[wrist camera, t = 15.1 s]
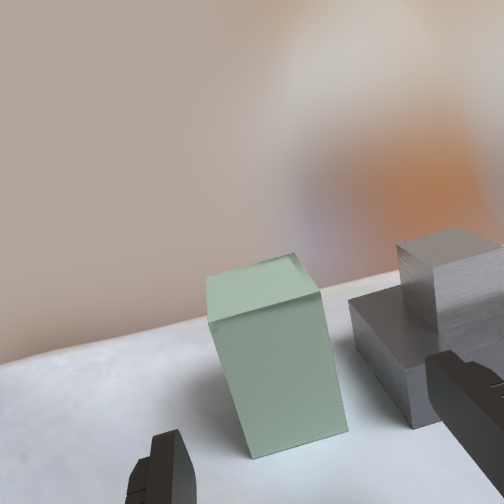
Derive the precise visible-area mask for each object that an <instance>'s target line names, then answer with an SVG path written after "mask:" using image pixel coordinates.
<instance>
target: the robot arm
mask: <svg viewBox="0 0 504 504" xmlns="http://www.w3.org/2000/svg"><path fill="white" fill-rule="evenodd" d="M425 368H426V379H427V389H428V397H429V400H430V403H431V405H432V407H433V409H434V411H435V412H436V414H437V415H438V416H439V418H440V419H441V420H442V421H443V423H444V424H445V425H446V426H447V428H448V429H449V430H450V431H451V433H452V434H453V435H454V436H455V438H456V439H457V440H458V441H459V443H460V444H461V445H462V446H463V448H464V449H465V450H466V451H467V453H468V454H469V455H470V456H471V458H472V459H473V460H474V461H475V463H476V464H477V465H478V466H479V468H480V469H481V470H482V471H483V473H484V474H485V475H486V476H487V478H488V479H489V480H490V481H491V483H492V484H493V485H494V486H495V488H496V489H497V490H498V491H499V493H500V494H501V495H502V496H503V498H504V380H503V379H502V378H500V377H499V376H498V375H497V374H496V373H495V372H494V371H492V370H491V369H489V368H487V367H485V366H483V365H481V364H479V363H476V362H474V361H471V362H467V363H465V362H464V361H463V360H462V359H461V358H460V357H459V356H458V355H456V354H455V353H454V352H453V351H451V350H446V351H443V352H439V353H436V354H432V355H429V356H426V358H425ZM125 504H197V492H196V477H195V472H194V468H193V464H192V462H191V459H190V457H189V454H188V452H187V449H186V447H185V444H184V442H183V439H182V437H181V434H180V432H179V430H178V429H176V430H172V431H169V432H166V433H162V434H159V435H155V436H153V438H152V444H151V452H150V456H149V457H146V458H142V459H139V460H138V462H137V464H136V466H135V468H134V469H133V471H132V473H131V475H130V477H129V483H128V489H127V497H126V501H125Z"/></svg>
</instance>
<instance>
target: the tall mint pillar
mask: <svg viewBox="0 0 504 504" xmlns="http://www.w3.org/2000/svg"><path fill="white" fill-rule="evenodd" d="M206 294H207V317H208V325H209V328H210V331H211V334H212V337H213V340H214V343H215V346H216V350H217V353H218V356H219V359H220V362H221V365H222V368H223V371H224V374H225V377H226V380H227V383H228V386H229V389H230V392H231V395H232V398H233V401H234V404H235V408H236V411H237V414H238V417H239V420H240V423H241V426H242V429H243V432H244V435H245V438H246V441H247V444H248V447H249V450H250V453H251V456H252V459H255V458H259V457H262V456H265V455H269V454H272V453H276V452H279V451H282V450H286V449H289V448H292V447H296V446H299V445H303V444H306V443H309V442H313V441H316V440H319V439H323V438H326V437H330V436H333V435H336V434H340V433H343V432H347V431H348V426H347V421H346V416H345V411H344V406H343V401H342V396H341V391H340V387H339V382H338V377H337V372H336V367H335V362H334V357H333V352H332V347H331V342H330V338H329V333H328V328H327V323H326V318H325V313H324V308H323V303H322V298H321V293H320V290H319V289H318V287H317V286H316V284H315V283H314V282H313V280H312V279H311V277H310V276H309V274H308V273H307V271H306V270H305V269H304V267H303V265H302V264H301V262H300V261H299V259H298V258H297V256H296V255H295V254H294V253H291V254H288V255H284V256H281V257H277V258H274V259H270V260H266V261H263V262H259V263H255V264H252V265H249V266H245V267H241V268H237V269H234V270H230V271H227V272H223V273H220V274H216V275H212V276H209V277H206Z"/></svg>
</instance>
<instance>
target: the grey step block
mask: <svg viewBox="0 0 504 504" xmlns="http://www.w3.org/2000/svg"><path fill="white" fill-rule="evenodd" d="M396 247H397V255H398V263H399V272H400V280H401V285H398V286H394V287H391V288H387V289H384V290H381V291H377V292H374V293H370V294H367V295H363V296H360V297H356V298H353V299H350V300H348V304H349V310H350V315H351V321H352V326H353V332H354V338H355V343H356V348H357V349H358V351H359V352H360V354H361V355H362V357H363V358H364V359H365V361H366V362H367V364H368V365H369V367H370V368H371V370H372V371H373V372H374V374H375V375H376V377H377V378H378V380H379V381H380V382H381V384H382V385H383V387H384V388H385V390H386V391H387V393H388V394H389V395H390V397H391V398H392V400H393V401H394V403H395V404H396V405H397V407H398V408H399V410H400V411H401V413H402V414H403V416H404V417H405V418H406V420H407V421H408V423H409V424H410V426H411V427H412V428H413V429H416V428H419V427H422V426H425V425H429V424H432V423H435V422H438V421H442V420H441V419H440V418H439V416H438V415H437V414H436V412H435V411H434V409H433V407H432V405H431V403H430V400H429V397H428V389H427V379H426V368H425V358H426V356H429V355H432V354H436V353H439V352H443V351H446V350H451V351H453V352H454V353H455V354H456V355H458V356H459V357H460V358H461V359H462V360H463V361H464V362H465V363H467V362H471V361H474V362H476V363H479V364H481V365H483V366H485V367H487V368H489V369H491V370H492V371H494V372H495V373H496V374H497V375H498V376H499V377H500V378H502V379H503V380H504V247H503V246H501V245H498V244H496V243H493V242H491V241H489V240H486V239H484V238H482V237H480V236H478V235H475V234H473V233H471V232H468V231H466V230H464V229H461V228H459V227H455V228H452V229H448V230H445V231H442V232H438V233H434V234H431V235H427V236H424V237H420V238H417V239H413V240H410V241H406V242H403V243H399V244H396Z"/></svg>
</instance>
